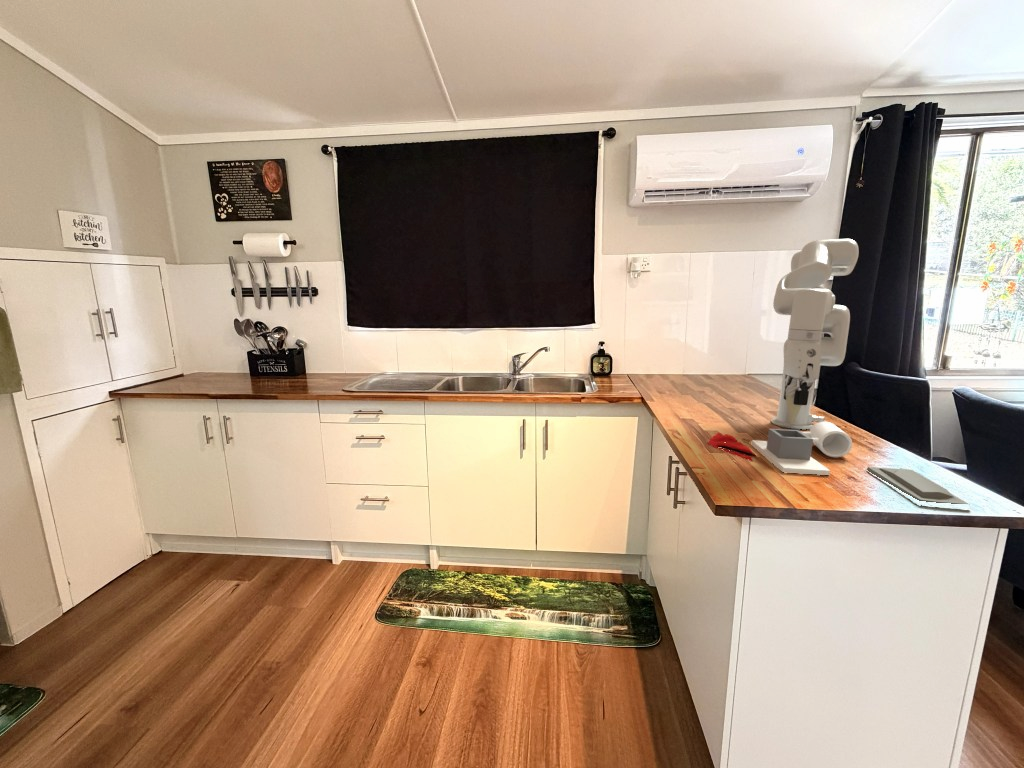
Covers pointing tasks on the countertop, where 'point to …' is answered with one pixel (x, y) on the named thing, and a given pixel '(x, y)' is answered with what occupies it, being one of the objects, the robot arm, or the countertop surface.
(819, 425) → the mug
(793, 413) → the ice cream cone
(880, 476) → the soap mold
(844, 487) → the countertop surface
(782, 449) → the box socket base
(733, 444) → the red lips
